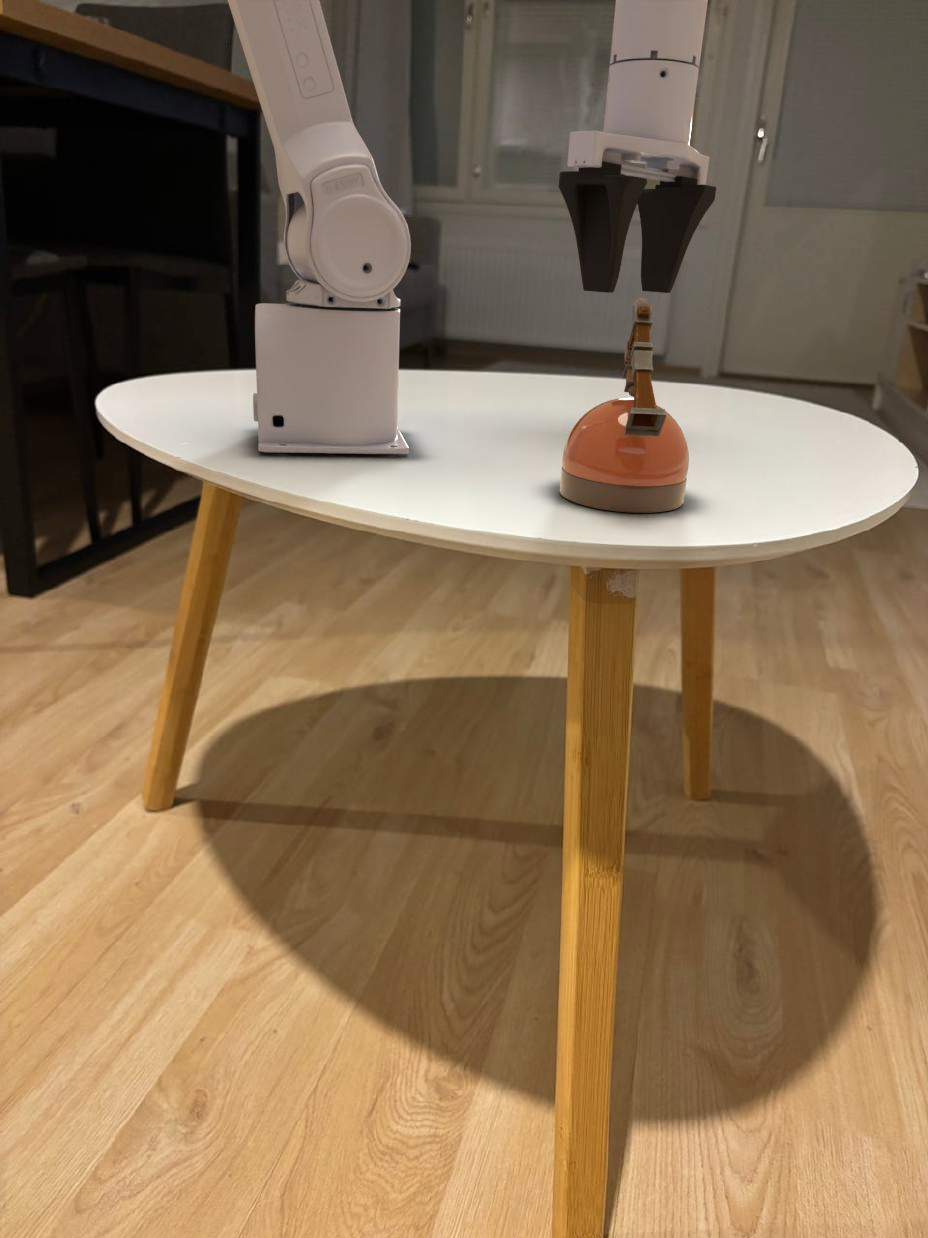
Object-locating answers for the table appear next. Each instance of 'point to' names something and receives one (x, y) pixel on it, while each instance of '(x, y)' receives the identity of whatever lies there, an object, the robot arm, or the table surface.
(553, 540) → the table surface
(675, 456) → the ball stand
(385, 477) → the table surface
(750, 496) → the table surface
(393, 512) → the table surface
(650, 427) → the wooden post with brackets
